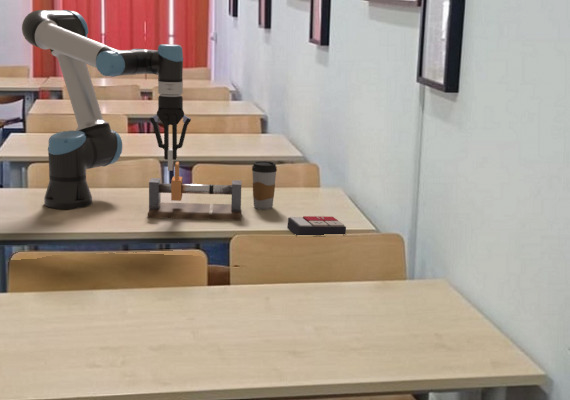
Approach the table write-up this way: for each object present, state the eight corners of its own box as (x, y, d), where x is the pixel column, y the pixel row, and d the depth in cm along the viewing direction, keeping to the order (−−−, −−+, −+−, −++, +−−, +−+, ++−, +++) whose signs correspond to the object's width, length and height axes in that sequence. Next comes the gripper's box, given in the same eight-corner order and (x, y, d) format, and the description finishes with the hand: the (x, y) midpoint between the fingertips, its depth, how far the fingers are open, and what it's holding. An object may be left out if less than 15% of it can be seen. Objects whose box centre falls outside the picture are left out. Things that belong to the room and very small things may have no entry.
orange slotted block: (171, 200, 258) (171, 165, 256) (172, 195, 265) (173, 161, 262) (180, 200, 259) (181, 165, 256) (182, 196, 265) (182, 161, 262)
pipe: (149, 209, 259) (149, 182, 257) (151, 205, 265) (151, 178, 263) (240, 212, 261) (241, 184, 259) (240, 207, 266) (241, 180, 264)
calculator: (346, 224, 244) (299, 224, 240) (345, 238, 245) (298, 238, 240) (333, 215, 254) (288, 214, 250) (332, 228, 255) (286, 228, 251)
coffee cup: (279, 206, 276) (281, 162, 272) (268, 211, 269) (270, 166, 265) (257, 203, 279) (259, 160, 276) (246, 208, 272) (247, 163, 268)
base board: (147, 217, 256) (147, 212, 255) (152, 206, 269) (152, 202, 269) (240, 220, 257) (240, 215, 257) (240, 208, 271) (240, 204, 270)
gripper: (147, 95, 250) (148, 171, 255) (190, 97, 250) (190, 172, 256) (150, 93, 257) (151, 166, 263) (192, 94, 258) (192, 167, 263)
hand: (170, 169), depth 259 cm, fingers closed
